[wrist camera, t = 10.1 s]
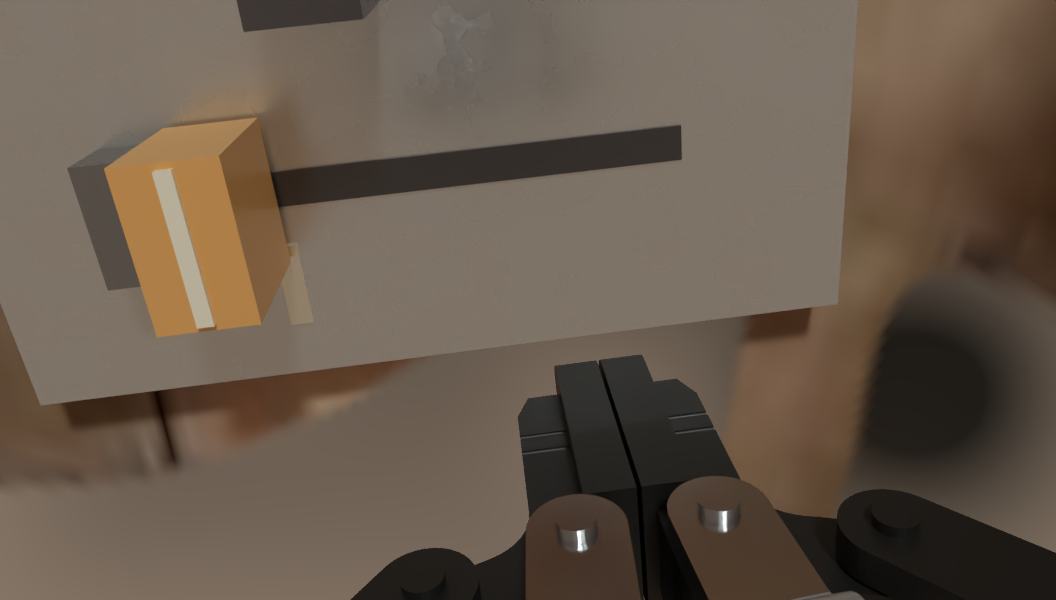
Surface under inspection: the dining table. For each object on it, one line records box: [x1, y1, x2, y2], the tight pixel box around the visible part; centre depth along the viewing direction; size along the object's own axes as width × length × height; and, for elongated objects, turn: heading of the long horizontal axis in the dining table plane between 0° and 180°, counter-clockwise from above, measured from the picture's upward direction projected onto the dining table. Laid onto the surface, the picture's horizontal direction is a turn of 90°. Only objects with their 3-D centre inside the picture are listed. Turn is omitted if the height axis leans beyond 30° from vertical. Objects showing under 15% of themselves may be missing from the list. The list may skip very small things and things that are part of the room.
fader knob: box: [104, 118, 291, 337], centre depth 25 cm, size 3×5×5 cm, turn 6°
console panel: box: [0, 0, 858, 405], centre depth 25 cm, size 30×20×7 cm, turn 95°
